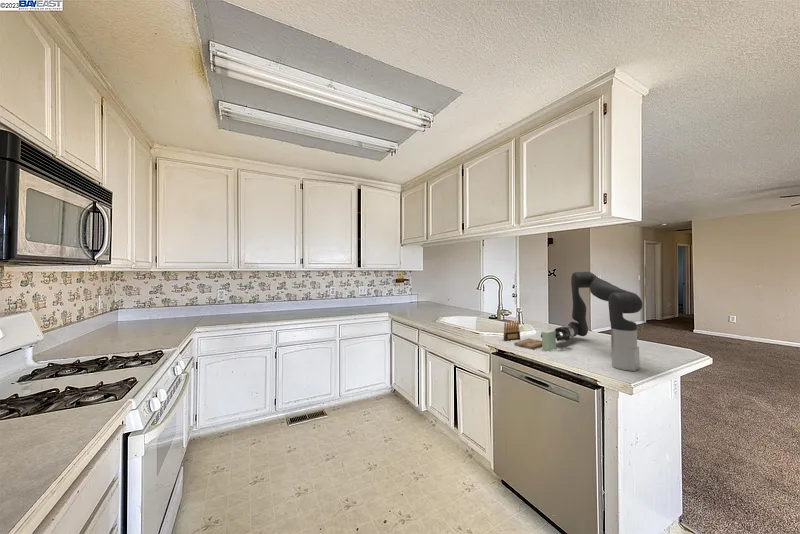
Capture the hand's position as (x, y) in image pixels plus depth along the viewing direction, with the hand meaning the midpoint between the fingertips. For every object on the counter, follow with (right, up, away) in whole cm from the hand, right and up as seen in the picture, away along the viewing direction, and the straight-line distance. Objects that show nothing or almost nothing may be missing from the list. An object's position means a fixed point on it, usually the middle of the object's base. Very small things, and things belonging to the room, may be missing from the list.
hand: (549, 337), depth 161 cm
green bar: (0, -7, 0) cm, 7 cm away
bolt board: (-6, -7, +9) cm, 13 cm away
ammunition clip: (-12, -7, +22) cm, 26 cm away
